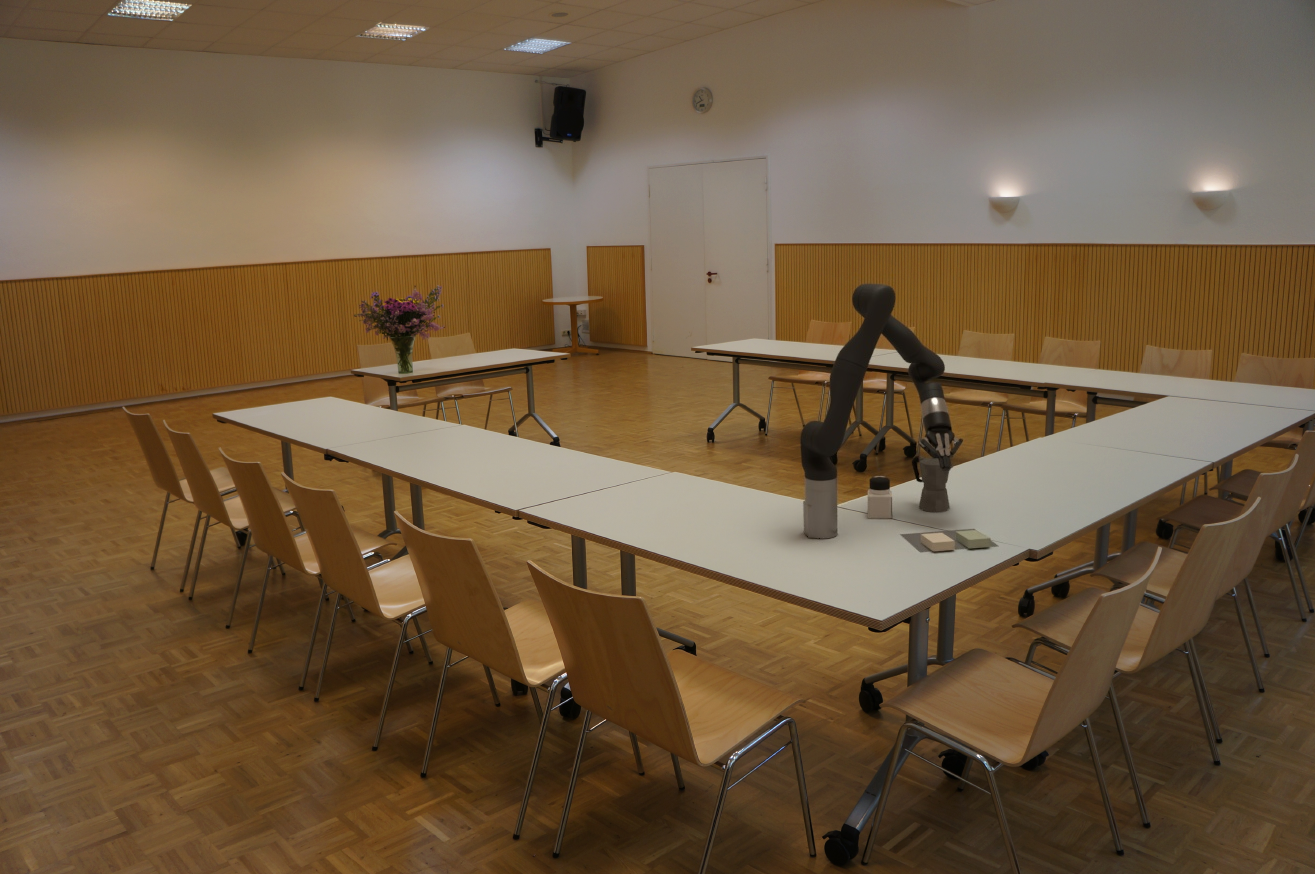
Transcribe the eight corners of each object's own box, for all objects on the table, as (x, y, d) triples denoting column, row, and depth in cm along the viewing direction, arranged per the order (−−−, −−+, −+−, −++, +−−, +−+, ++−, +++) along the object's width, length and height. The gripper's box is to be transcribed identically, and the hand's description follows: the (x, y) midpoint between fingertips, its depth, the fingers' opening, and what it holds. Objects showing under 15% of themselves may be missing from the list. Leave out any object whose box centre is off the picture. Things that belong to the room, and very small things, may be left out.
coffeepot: (961, 509, 293) (962, 453, 290) (941, 515, 288) (942, 458, 284) (921, 499, 306) (922, 445, 302) (901, 505, 300) (902, 450, 297)
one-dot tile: (955, 540, 264) (969, 549, 255) (955, 531, 263) (969, 539, 254) (976, 539, 264) (990, 547, 255) (976, 529, 264) (990, 538, 255)
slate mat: (920, 554, 255) (920, 552, 255) (899, 536, 271) (899, 534, 271) (999, 548, 257) (999, 546, 257) (974, 530, 273) (974, 528, 273)
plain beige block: (920, 543, 263) (933, 552, 254) (920, 534, 262) (933, 542, 254) (941, 541, 263) (954, 550, 254) (941, 532, 263) (954, 541, 254)
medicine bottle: (891, 518, 287) (892, 480, 285) (867, 518, 289) (867, 480, 286) (891, 512, 294) (891, 474, 292) (867, 511, 296) (867, 474, 293)
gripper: (917, 410, 274) (927, 463, 266) (962, 410, 275) (973, 463, 267) (909, 422, 281) (919, 475, 273) (953, 422, 282) (964, 475, 274)
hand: (946, 469), depth 270 cm, fingers closed
